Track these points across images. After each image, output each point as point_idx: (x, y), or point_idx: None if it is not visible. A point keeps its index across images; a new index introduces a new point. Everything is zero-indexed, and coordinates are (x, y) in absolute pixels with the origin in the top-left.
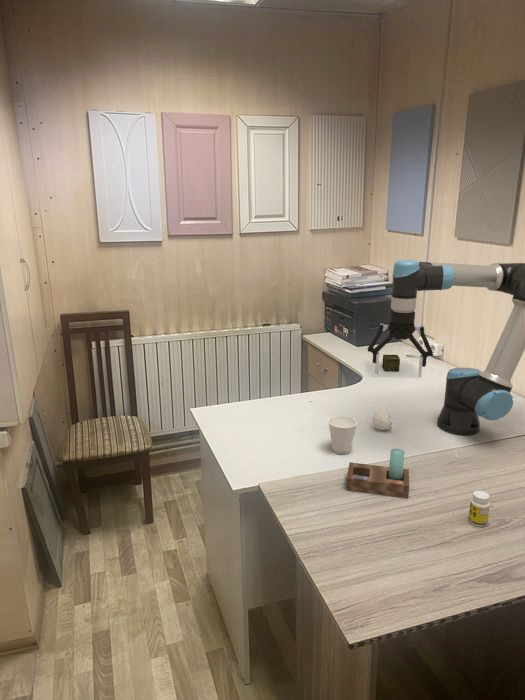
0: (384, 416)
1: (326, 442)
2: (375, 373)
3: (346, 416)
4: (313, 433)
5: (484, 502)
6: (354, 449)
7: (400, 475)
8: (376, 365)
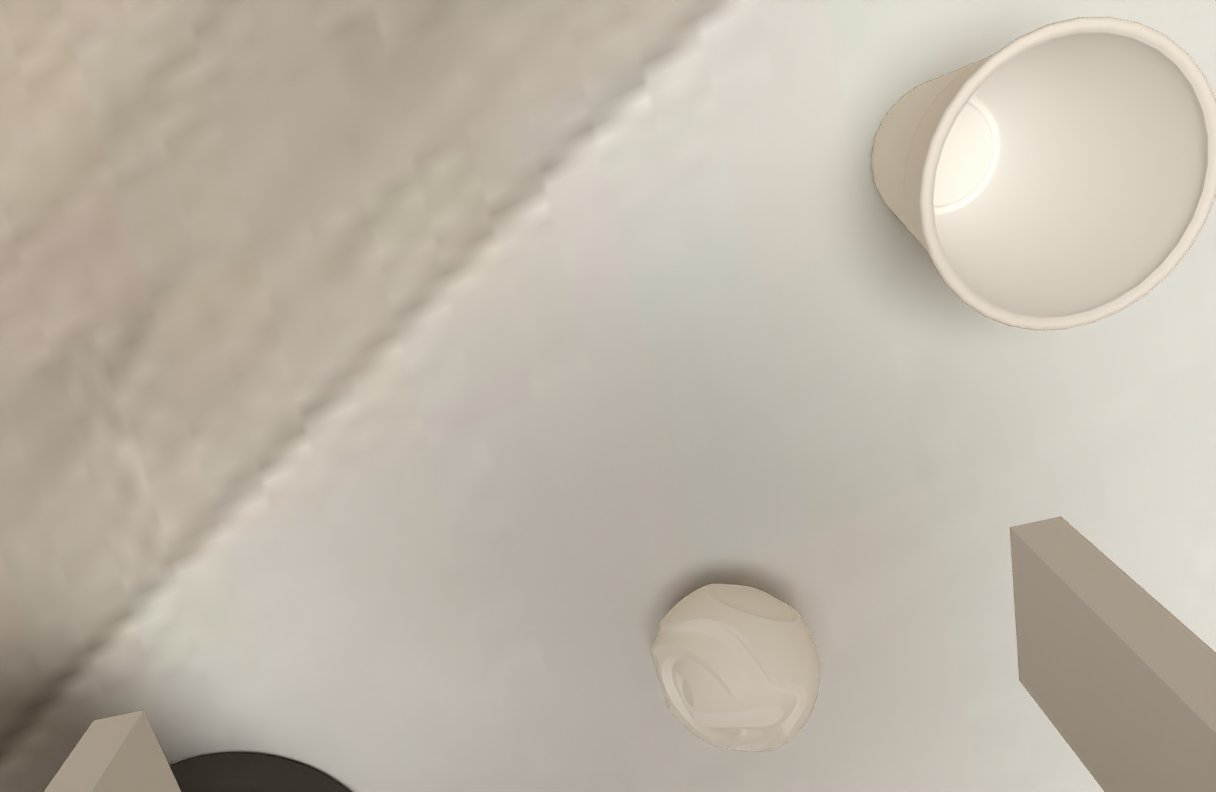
0: (723, 657)
1: None
2: (1060, 517)
3: (1052, 319)
4: (1195, 336)
5: None
6: (845, 218)
7: None
8: (1170, 632)
